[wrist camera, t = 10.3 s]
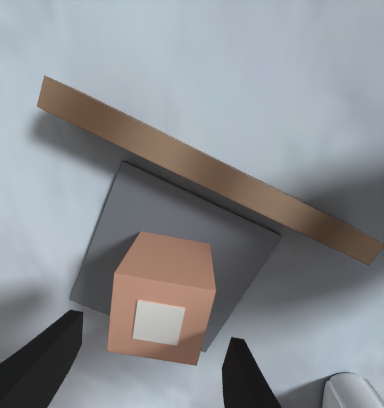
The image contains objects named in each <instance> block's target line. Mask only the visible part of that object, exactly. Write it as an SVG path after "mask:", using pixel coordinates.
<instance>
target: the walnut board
mask: <svg viewBox="0 0 384 408" xmlns="http://www.w3.org/2000/svg"><path fill="white" fill-rule="evenodd" d="M37 107H39V108H41V109H43V110H45V111H47V112H49V113H51V114H53V115H55V116H57V117H60V118H62V119H64V120H66V121H68V122H70V123H72V124H74V125H76V126H78V127H80V128H83V129H85V130H87V131H89V132H91V133H93V134H95V135H97V136H99V137H101V138H103V139H106V140H108V141H110V142H112V143H114V144H116V145H118V146H120V147H122V148H124V149H126V150H129V151H131V152H133V153H135V154H137V155H139V156H141V157H143V158H145V159H147V160H149V161H152V162H154V163H156V164H158V165H160V166H162V167H164V168H166V169H168V170H170V171H172V172H175V173H177V174H179V175H181V176H183V177H185V178H187V179H189V180H191V181H193V182H195V183H198V184H200V185H202V186H204V187H206V188H208V189H210V190H212V191H214V192H216V193H218V194H221V195H223V196H225V197H227V198H229V199H231V200H233V201H235V202H237V203H239V204H241V205H244V206H246V207H248V208H250V209H252V210H254V211H256V212H258V213H260V214H262V215H264V216H266V217H269V218H271V219H273V220H275V221H277V222H279V223H281V224H283V225H285V226H287V227H289V228H292V229H294V230H296V231H298V232H300V233H302V234H304V235H306V236H308V237H310V238H312V239H315V240H317V241H319V242H321V243H323V244H325V245H327V246H329V247H331V248H333V249H335V250H338V251H340V252H342V253H344V254H346V255H348V256H350V257H352V258H354V259H356V260H358V261H361V262H363V263H365V264H367V265H369V264H370V263H371V262H372V261H373V259H374V258H375V257H376V256H377V254H378V253H379V252H380V251H381V250H382V248H383V247H384V243H382V242H380V241H378V240H376V239H374V238H372V237H371V236H369V235H367V234H365V233H363V232H361V231H359V230H358V229H356V228H354V227H352V226H350V225H348V224H346V223H344V222H342V221H340V220H338V219H336V218H334V217H332V216H330V215H328V214H326V213H324V212H322V211H320V210H318V209H316V208H314V207H312V206H310V205H308V204H306V203H304V202H302V201H300V200H298V199H296V198H294V197H292V196H290V195H288V194H286V193H284V192H282V191H280V190H278V189H276V188H274V187H272V186H270V185H268V184H266V183H264V182H262V181H260V180H258V179H256V178H253V177H251V176H249V175H247V174H245V173H243V172H241V171H239V170H237V169H235V168H233V167H231V166H229V165H227V164H225V163H223V162H221V161H219V160H217V159H215V158H213V157H211V156H209V155H207V154H205V153H203V152H201V151H199V150H197V149H195V148H193V147H191V146H189V145H187V144H185V143H183V142H181V141H179V140H177V139H175V138H173V137H171V136H169V135H167V134H165V133H163V132H161V131H159V130H157V129H155V128H153V127H151V126H149V125H147V124H145V123H143V122H141V121H139V120H137V119H135V118H133V117H131V116H129V115H127V114H125V113H123V112H121V111H119V110H117V109H115V108H113V107H111V106H109V105H107V104H104V103H102V102H100V101H98V100H96V99H94V98H92V97H90V96H88V95H86V94H84V93H82V92H80V91H78V90H76V89H74V88H72V87H69V86H67V85H65V84H63V83H60V82H58V81H56V80H54V79H51V78H49V77H47V76H45V75H44V79H43V84H42V88H41V92H40V96H39V100H38V104H37Z"/></svg>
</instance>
